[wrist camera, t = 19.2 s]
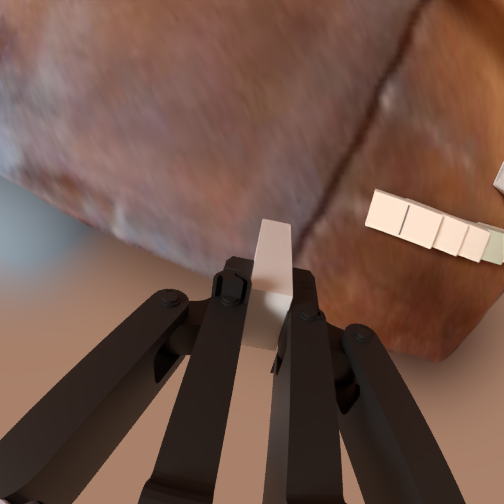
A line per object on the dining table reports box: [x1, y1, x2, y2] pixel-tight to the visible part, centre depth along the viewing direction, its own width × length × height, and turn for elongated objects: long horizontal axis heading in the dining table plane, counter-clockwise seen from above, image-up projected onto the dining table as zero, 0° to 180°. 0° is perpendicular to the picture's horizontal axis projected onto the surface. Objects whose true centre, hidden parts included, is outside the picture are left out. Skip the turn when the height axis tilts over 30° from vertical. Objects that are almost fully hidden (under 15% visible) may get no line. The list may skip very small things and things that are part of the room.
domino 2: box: [406, 198, 468, 256], centre depth 37 cm, size 5×2×10 cm
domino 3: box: [454, 216, 490, 263], centre depth 37 cm, size 5×2×10 cm
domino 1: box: [365, 189, 443, 249], centre depth 37 cm, size 5×2×10 cm
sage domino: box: [465, 220, 504, 265], centre depth 37 cm, size 5×2×10 cm
